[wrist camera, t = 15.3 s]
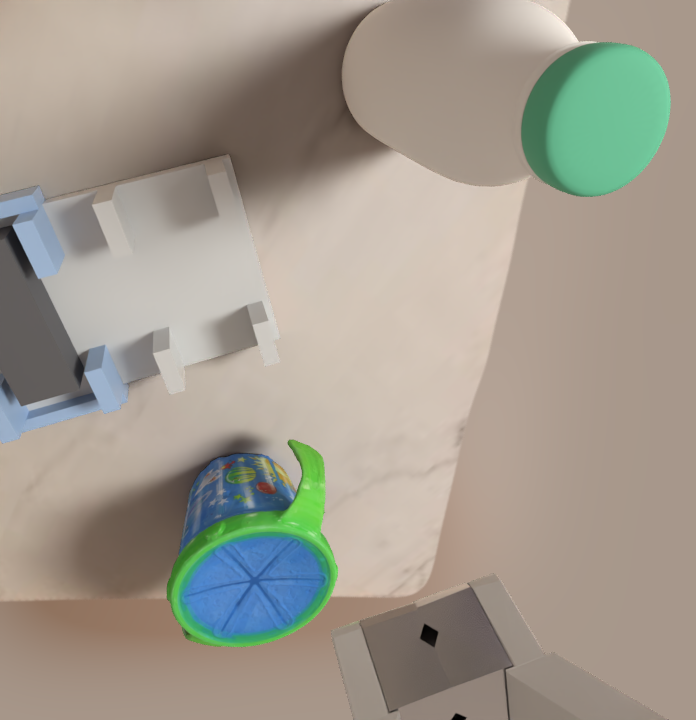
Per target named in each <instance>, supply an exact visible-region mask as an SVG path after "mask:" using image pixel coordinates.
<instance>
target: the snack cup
mask: <svg viewBox="0 0 696 720" xmlns="http://www.w3.org/2000/svg"><path fill="white" fill-rule="evenodd" d="M288 445H289V447H290V448H291V449H292V450H293V452H294V455H295V456H296V458H297V460H298V461H299V463H300V466H301V469H302V478H301V481H300V483H299V486H298V489H297V492H296V490H295V488H294V486H293V484H292V482H291V480H290V479H289V477H288V475H287V473H286V472H285V471H284V469H283V468H281V467H280V466H279V465H278V464H276V463H275V462H274V461H273V460H272V459H270V458H269V457H268V456H265V455H262V454H260V455H255V454H248V453H245V454H233V455H230V456H228V457H222V458H221V457H219V458H217V459H215V460H213V461H211V462H210V464H209V465H208V466H207V467H206V468H205V469H204V470H203V471H201V472H200V474H199V476H198V477H197V479H196V480H195V482H194V484H193V486H192V489H191V490H190V493H189V498H188V507H187V510H186V515H185V522H184V526H183V533H182V538H181V543H180V549H179V556H178V558H177V560H176V562H175V564H174V566H173V569H172V573H171V577H170V579H169V581H168V584H167V600H168V601H170V603H171V608H172V612H173V614H174V616H175V618H176V620H177V621H178V623H179V624H180V625H181V626H182V631H183V633H184V636H185V637H186V639H188V640H190V641H193V642H197V643H201V644H204V645H210V646H228V647H246V646H255V645H260V644H264V643H268V642H271V641H275V640H277V639H280V638H282V637H285V636H287V635H289V634H291V633H293V632H295V631H297V630H298V629H299V628H301V627H303V626H305V625H306V624H307V623H308V622H310V621H311V620H312V619H313V618H314V617H315V616H316V615H317V614H318V613H319V612H320V611H321V610H322V608H323V607H324V606H325V605H326V603H327V602H328V600H329V598H330V596H331V594H332V592H333V589H334V586H335V582H336V579H337V576H338V575H337V574H338V567H337V565H336V563H335V560H334V556H333V553H332V550H331V548H330V546H329V544H328V542H327V540H326V538H325V537H324V535H323V534H322V533H321V532H320V531H321V525H322V520H323V514H324V504H325V472H324V462H323V458H322V456H321V455H320V454H319V453H318V452H317V451H316V450H314V449H313V448H311V447H310V446H308V445H305V444H303V443H300V442H298V441H295V440H289V441H288Z"/></svg>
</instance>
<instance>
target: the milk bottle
mask: <svg viewBox="0 0 696 720" xmlns="http://www.w3.org/2000/svg"><path fill="white" fill-rule="evenodd" d="M342 86H343V92H344V97H345V100H346V103H347V105H348V108H349V110H350V112H351V114H352V116H353V117H354V119H355V120H356V121H357V123H358V124H359V125H360V126H361V127H362V128H363V129H364V130H365V131H366V132H367V133H369V134H370V135H371V136H373V137H374V138H376V139H377V140H379V141H380V142H382V143H384V144H385V145H387V146H389V147H391V148H392V149H394V150H396V151H397V152H399V153H401V154H402V155H404V156H406V157H408V158H409V159H411V160H413V161H415V162H417V163H418V164H420V165H422V166H424V167H426V168H427V169H429V170H431V171H433V172H435V173H437V174H440V175H442V176H444V177H446V178H448V179H451V180H453V181H456V182H460V183H464V184H469V185H474V186H502V185H507V184H512V183H516V182H519V181H522V180H525V179H527V178H530V177H533V178H535V179H536V180H538V181H540V182H543V183H545V184H548V185H550V186H552V187H554V188H556V189H558V190H560V191H562V192H566V193H568V194H571V195H576V196H581V197H593V196H601V195H605V194H608V193H611V192H613V191H616V190H618V189H620V188H621V187H623V186H625V185H626V184H628V183H629V182H630V181H632V180H633V179H634V178H635V177H636V176H638V175H639V174H640V173H641V172H642V171H643V170H644V168H645V167H646V166H647V165H648V164H649V162H650V161H651V159H652V158H653V157H654V155H655V153H656V152H657V150H658V148H659V146H660V144H661V142H662V140H663V137H664V135H665V132H666V129H667V125H668V121H669V115H670V103H671V101H670V90H669V85H668V81H667V78H666V76H665V73H664V71H663V70H662V68H661V66H660V65H659V64H658V63H657V61H656V60H655V59H654V58H653V57H651V56H650V55H649V54H648V53H646V52H645V51H643V50H641V49H639V48H637V47H634V46H631V45H627V44H620V43H612V42H610V43H609V42H608V43H607V42H600V43H598V42H591V41H582V42H578V40H577V39H576V37H575V36H574V34H573V33H572V31H571V30H570V29H569V28H568V26H567V25H566V24H565V23H564V22H563V21H562V20H561V19H559V18H558V17H557V16H556V15H555V14H554V13H552V12H551V11H549V10H548V9H546V8H544V7H542V6H541V5H539V4H537V3H535V2H532V1H530V0H393V1H390V2H387V3H385V4H383V5H381V6H379V7H378V8H376V9H375V10H373V11H372V12H371V13H370V14H368V15H367V16H366V17H365V18H364V19H363V20H362V22H361V23H360V24H359V25H358V27H357V28H356V30H355V31H354V33H353V35H352V36H351V38H350V41H349V43H348V45H347V48H346V51H345V55H344V59H343V66H342Z"/></svg>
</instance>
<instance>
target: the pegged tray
mask: <svg viewBox="0 0 696 720" xmlns="http://www.w3.org/2000/svg"><path fill="white" fill-rule="evenodd" d="M10 225H12V226H13V228H14V230H15V232H16V234H17V236H18V238H19V240H20V242H21V244H22V246H23V249H24V251H25V253H26V255H27V257H28V259H29V261H30V263H31V265H32V267H33V269H34V271H35V273H36V275H37V277H38V279H40V278H41V280H42V282H43V284H44V286H45V288H46V290H47V292H48V294H49V296H50V298H51V301H52V303H53V305H54V307H55V309H56V311H57V313H58V315H59V317H60V319H61V321H62V323H63V325H64V327H65V329H66V331H67V333H68V335H69V337H70V340H71V342H72V344H73V346H74V348H75V350H76V352H77V354H78V356H79V358H80V360H81V362H82V364H83V366H84V368H85V369H84V373H83V377H82V382H81V386H80V390H77V391H73V392H70V393H66V394H63V395H60V396H56V397H53V398H49V399H46V400H42V401H39V402H35V403H32V404H28V405H25V406H21V405H20V403H19V402H18V400H17V398H16V396H15V395H14V393H13V391H12V389H11V388H10V386H9V384H8V382H7V381H6V379H5V377H4V375H3V374H2V372H1V370H0V441H1V442H2V444H3V443H6V442H10V441H13V440H17V439H20V436H21V433H23V432H26V431H30V430H33V429H37V428H40V427H44V426H47V425H50V424H54V423H57V422H61V421H64V420H68V419H71V418H74V417H78V416H81V415H85V414H88V413H92V412H95V411H98V410H102V411H103V413H104V414H106V413H109V412H112V411H116V410H119V409H121V404H122V403H126V402H127V399H128V388H129V386H128V382H132V381H135V380H139V379H142V378H146V377H149V376H153V375H156V374H160V373H161V375H162V377H163V380H164V382H165V385H166V387H167V389H168V392H169V394H174V393H177V392H181V391H184V390H186V384H185V366H187V365H191V364H194V363H198V362H201V361H205V360H208V359H212V358H215V357H219V356H222V355H226V354H229V353H233V352H236V351H240V350H243V349H246V348H250V347H253V346H257V345H259V349H260V352H261V355H262V359H263V362H264V365H265V367H266V366H269V365H273V364H276V363H280V359H279V355H278V352H277V348H276V345H275V341H274V340H278V339H281V338H280V335H279V331H278V327H277V324H276V320H275V317H274V313H273V309H272V306H271V302H270V299H269V295H268V291H267V288H266V284H265V281H264V277H263V273H262V270H261V266H260V263H259V259H258V255H257V252H256V248H255V245H254V241H253V237H252V234H251V230H250V227H249V223H248V219H247V216H246V212H245V209H244V205H243V201H242V198H241V194H240V191H239V187H238V183H237V180H236V176H235V173H234V169H233V166H232V162H231V158H230V156H229V154H227V155H223V156H219V157H215V158H211V159H207V160H203V161H199V162H195V163H191V164H187V165H183V166H179V167H175V168H171V169H167V170H163V171H159V172H155V173H150V174H146V175H142V176H138V177H134V178H130V179H126V180H122V181H118V182H114V183H110V184H106V185H102V186H98V187H94V188H90V189H86V190H82V191H78V192H74V193H70V194H66V195H62V196H58V197H54V198H50V199H46V200H45V198H44V196H43V194H42V191H41V189H40V187H39V186H35V187H31V188H27V189H23V190H19V191H15V192H10V193H6V194H2V195H0V228H3V227H7V226H10Z"/></svg>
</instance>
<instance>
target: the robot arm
mask: <svg viewBox="0 0 696 720" xmlns="http://www.w3.org/2000/svg"><path fill="white" fill-rule="evenodd" d="M360 624H361V625H360ZM331 635H332V641H333V645H334V649H335V653H336V656H337V660H338V664H339V668H340V671H341V675H342V678H343V683H344V686H345V690H346V694H347V698H348V701H349V705H350V709H351V712H352V716H353V720H668V719H667V718H664V717H663V716H661V715H660V714H658V713H656V712H655V711H653V710H651V709H650V708H648V707H646V706H645V705H643V704H641V703H640V702H638V701H636V700H634V699H633V698H631V697H629V696H627V695H626V694H624V693H622V692H621V691H619V690H618V689H616V688H614V687H612V686H610V685H609V684H607V683H606V682H604V681H602V680H601V679H599V678H597V677H596V676H594V675H592V674H591V673H589V672H587V671H585V670H584V669H582V668H580V667H579V666H577V665H575V664H574V663H572V662H570V661H569V660H567V659H565V658H563V657H562V656H560V655H558V654H557V653H555V652H552V653H549V654H545V653H544V651H543V650H542V648H541V646H540V644H539V643H538V641H537V639H536V638H535V636H534V635H533V633H532V631H531V629H530V628H529V626H528V624H527V623H526V621H525V619H524V618H523V616H522V614H521V613H520V611H519V610H518V608H517V606H516V604H515V603H514V601H513V599H512V598H511V596H510V595H509V593H508V591H507V589H506V588H505V586H504V585H503V583H502V581H501V579H500V578H499V577H498V576H497V575H496V574H494V573H493V574H489V575H487V576H484V577H481V578H479V579H476V580H473V581H471V582H468V583H462V584H459V585H457V586H454V587H452V588H449V589H446V590H443V591H441V592H438V593H435V594H433V595H430V596H427V597H425V598H422V599H420V600H416V601H414V602H413V603H411V604H408V605H405V606H402V607H399V608H396V609H393V610H390V611H387V612H384V613H381V614H378V615H375V616H372V617H369V618H366V619H363V620H360V623H359V621H357V622H354V623H351V624H348V625H345V626H342V627H339V628H337V629H334V630H331Z"/></svg>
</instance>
